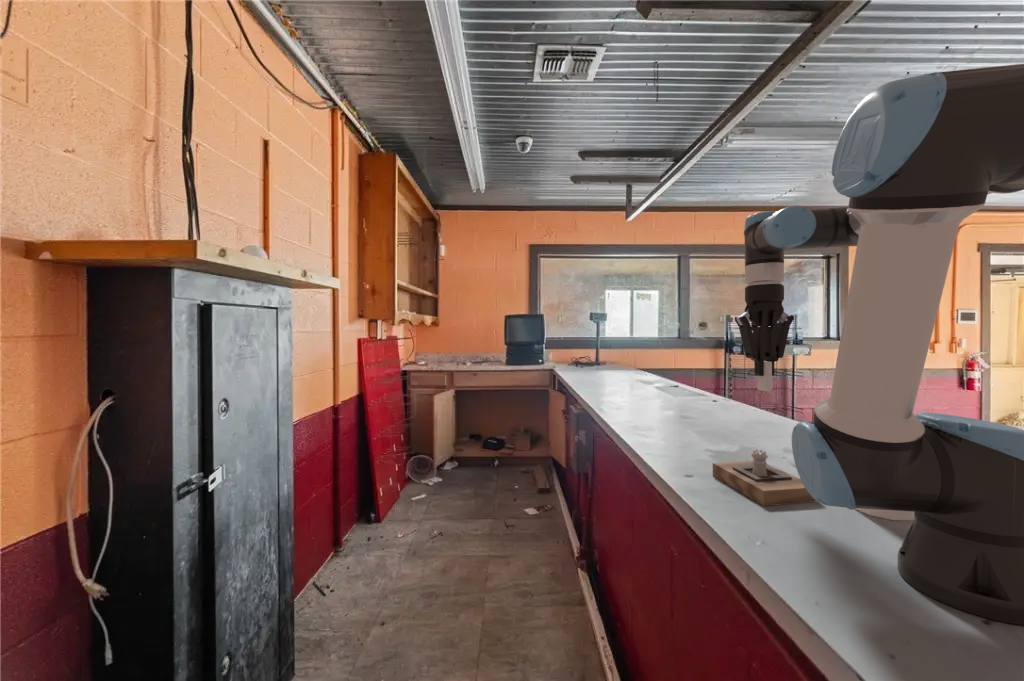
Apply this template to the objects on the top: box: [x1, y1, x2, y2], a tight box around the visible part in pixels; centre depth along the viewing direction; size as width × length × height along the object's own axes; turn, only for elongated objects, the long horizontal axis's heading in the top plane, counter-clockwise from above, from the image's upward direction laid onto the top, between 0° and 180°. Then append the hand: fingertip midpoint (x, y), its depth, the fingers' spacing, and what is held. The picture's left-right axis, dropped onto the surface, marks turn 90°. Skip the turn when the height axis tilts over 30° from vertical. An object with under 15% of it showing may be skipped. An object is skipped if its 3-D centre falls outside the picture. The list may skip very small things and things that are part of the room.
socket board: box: [712, 460, 819, 506], centre depth 96 cm, size 18×12×4 cm, turn 6°
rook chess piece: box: [751, 449, 769, 476], centre depth 96 cm, size 4×4×8 cm
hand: (764, 390), depth 96 cm, fingers closed
